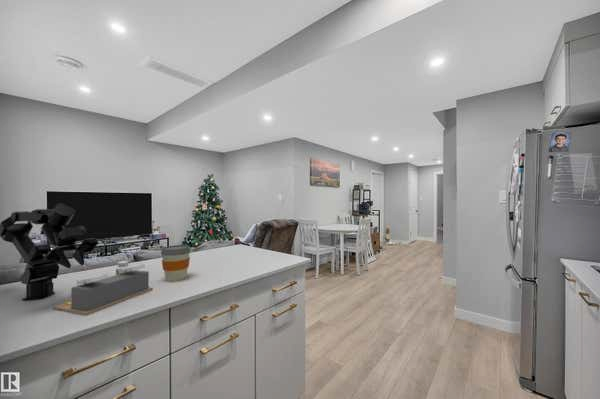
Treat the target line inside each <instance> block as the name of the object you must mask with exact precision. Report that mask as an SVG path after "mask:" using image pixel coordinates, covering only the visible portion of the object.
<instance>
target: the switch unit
mask: <svg viewBox="0 0 600 399" xmlns="http://www.w3.org/2000/svg"><path fill="white" fill-rule="evenodd" d="M149 274H150V273H149V271H145V270H139V269H138V270H135V271H131V272H128V273H122V274H119V275H116V274H115V275H112V276H108V277H109V278H106V279H102V280H99V281H95V282H92V283H88V284H80V285H76V286H73V287H70V288H71V289H70V290H71V294H70V295H71V296H70V299H71V300H69V301H66V302H64V303H61V304H57V305H54V306H52V308H51V309H52V310H54V311H60V312H66V313H71V314H76V315H81V316H89V315H91V314H93V313H96V312H99V311H102V310H104V309H107V308H109V307H112V306H114V305H116V304H119V303H123V302H124V301H127V300H130V299H132V298H135V297H138V296H140V295H143V294H146V293H148V292H150V291H152V290H153V287H151V286H150V285H149V280H150V279H149V278H150V277H149Z"/></svg>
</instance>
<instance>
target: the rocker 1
mask: <svg viewBox="0 0 600 399" xmlns="http://www.w3.org/2000/svg"><path fill="white" fill-rule="evenodd" d="M109 277H110V276H109V273H105V274H100V275H94V276H90V277H86V278H82V279H79V280H76V286H79V285H82V284H88V283H92V282H95V281H99V280H102V279H106V278H109Z"/></svg>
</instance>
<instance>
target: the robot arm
mask: <svg viewBox="0 0 600 399" xmlns="http://www.w3.org/2000/svg"><path fill="white" fill-rule="evenodd" d="M75 214H76V209H74V208H73V207H71V206H69V205H66V204H64V203H57V204H56V205H55V207H54V208H49V209H48V208H46V209H45V208H43V209H42V208H40V209H39V208H36V209H33V210H31V211H26V210H25V211H15V212H14V211H12V212H11V214H10V216H9V217H7V218H6V219H4V220H2V221H0V238H1V239H2V240H3V241H4V242H8V243H11V244H12V245H13V246H14V247H15V248H16V250H17V251H18V253H19V255H20V256H21V258H22V259H23V260H24V262H25V263H26V267H25V269H24V272H23V273H22V275H21V276H20V282H21V284H23V285H26V288H25V290H26V293H25V296H26V297H24V298H22V299H21V300H22V301H28V300H30V301H31V300H42V299H44V298H47V297H49V296H51V295H52V296H53V294H56V291H54V282H53V279H57V278H58V275H59V270H60V266H61V267H64V268H67V269H71V268H72V264H71V262H70V261H69V259H68V257H67V256H66V255H65V252H71V251H72V252H73V254H72V257H73V259H74V260H75V261H76V262H77V263H78V264H79V265H80V266H84V265H85V254H86V253H91V252H93V251H94V250H95V248H96V247H97V246H98V244H99V243H100V242H99V241H98V239H97V238H95V237H94V238H93V237H92V238H85V239H82V242H81V243H77V242H78V241H79V240H78V238H79V237H81V236H83V235H85V234H87V229H86V227H85V226H84V225H79V226H77V227H65V226H68V225H69V224H70V222H71V220H72V219H73V217H74V215H75ZM16 222H20V223H16ZM22 222H23V223H22ZM26 222H27V223H26ZM34 225H37V226H38V225H42V226H41V231H40V233H39V234H40V235H45V238H46V239H47V241H46V243H45V244H44V243H43V244H35V243H34V242H33V240H32V238H31V237H30V236H29V235H30V234H31V231H32V229H33V227H34Z"/></svg>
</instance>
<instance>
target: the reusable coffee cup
mask: <svg viewBox="0 0 600 399" xmlns="http://www.w3.org/2000/svg"><path fill="white" fill-rule="evenodd" d="M190 253H191V247H190V245H187V244H179V245H177V244H176V245H175V244H174V245H169V246H164V247H162V248H161V257H162V260H161V262H162V263H161V264H162V265H161V266H162V270H163V271H164V277H165V278H164V279H165V281H166V282H179V281H182V279H183V280H185V279H187V275H188V268H189V267H190V266H189V265H190V259H191V257H190ZM184 278H185V279H184ZM178 280H179V281H178Z"/></svg>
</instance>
